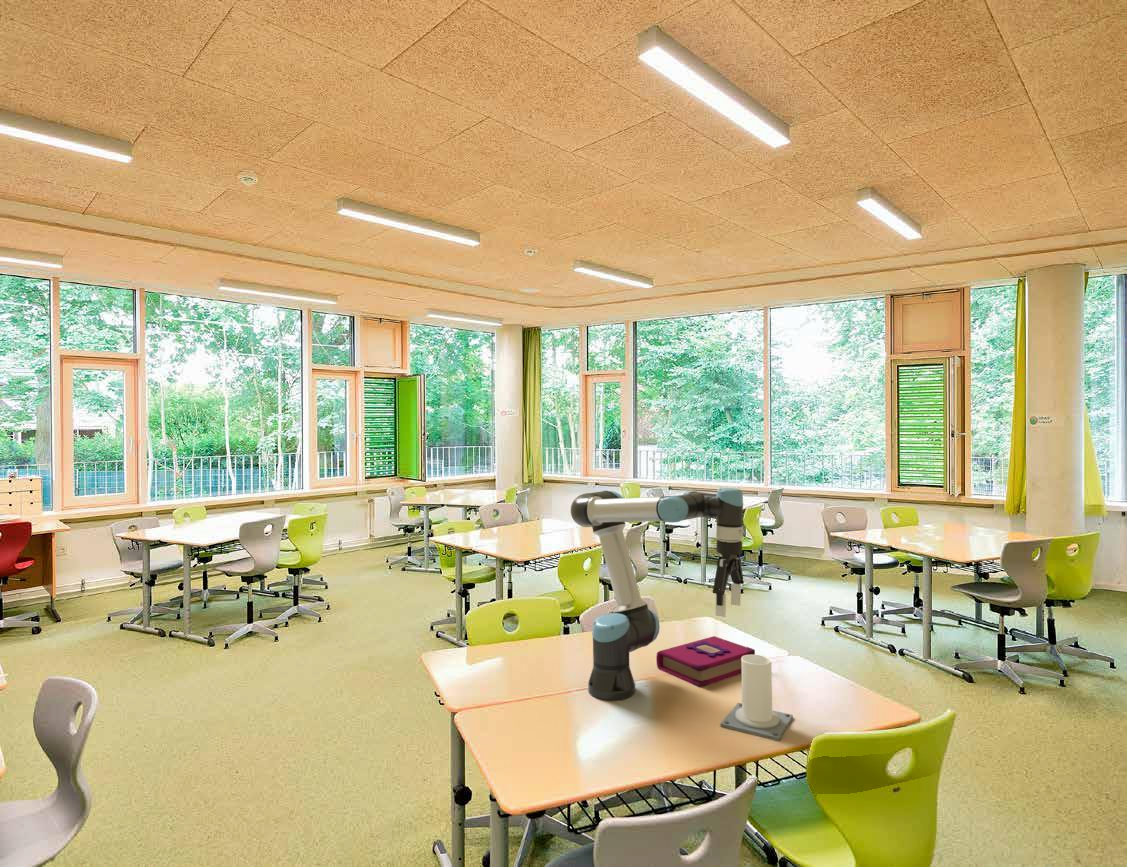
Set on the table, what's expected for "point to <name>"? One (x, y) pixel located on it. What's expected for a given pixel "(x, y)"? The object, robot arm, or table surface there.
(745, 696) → the cup
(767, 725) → the flange board
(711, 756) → the table surface
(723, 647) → the book
